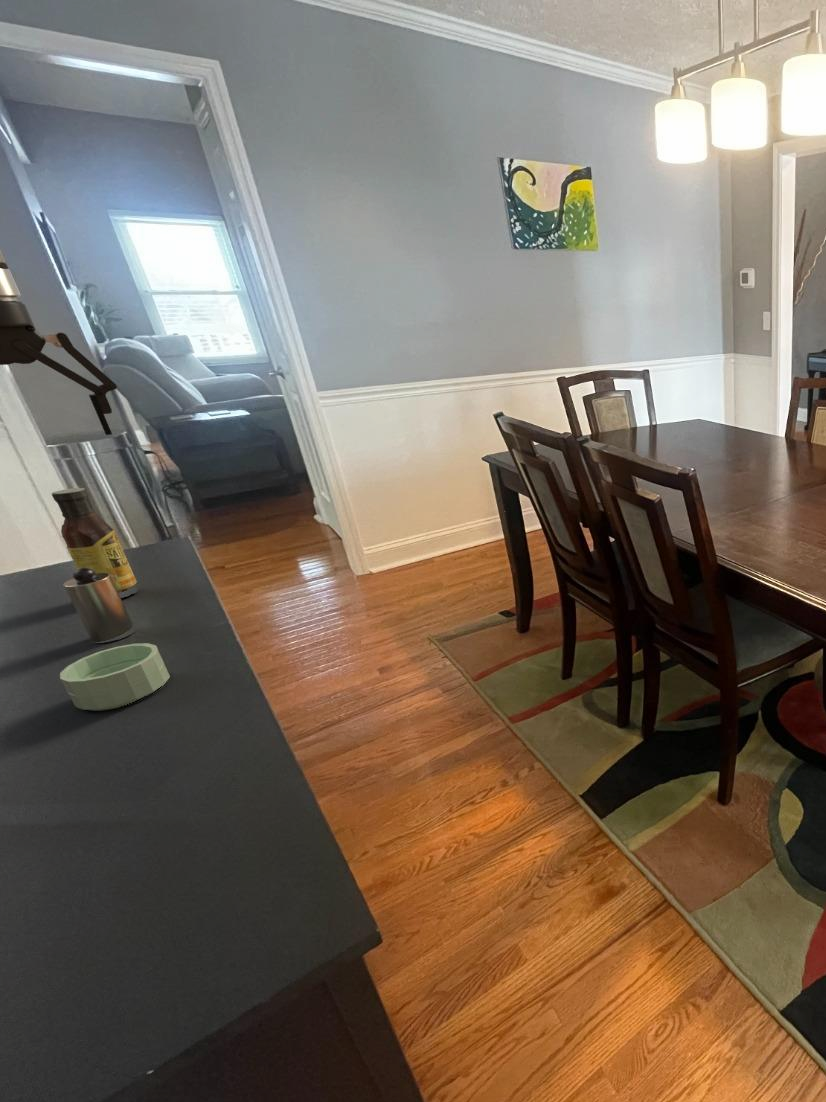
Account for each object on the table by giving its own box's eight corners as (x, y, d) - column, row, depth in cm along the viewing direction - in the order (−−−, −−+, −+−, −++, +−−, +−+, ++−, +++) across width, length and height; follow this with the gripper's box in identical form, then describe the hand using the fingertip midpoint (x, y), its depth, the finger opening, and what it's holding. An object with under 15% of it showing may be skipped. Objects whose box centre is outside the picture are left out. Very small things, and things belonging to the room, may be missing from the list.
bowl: (56, 714, 77) (37, 682, 75) (122, 674, 85) (107, 644, 83) (130, 712, 77) (113, 680, 75) (188, 672, 85) (175, 642, 83)
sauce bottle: (136, 598, 107) (88, 492, 100) (88, 607, 104) (34, 498, 96) (144, 585, 112) (98, 483, 105) (98, 593, 109) (47, 489, 101)
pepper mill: (82, 644, 93) (47, 575, 88) (112, 628, 97) (80, 562, 93) (116, 643, 93) (82, 575, 88) (144, 627, 97) (114, 561, 93)
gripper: (-161, 298, 79) (-74, 455, 88) (103, 300, 96) (155, 431, 105) (-150, 299, 84) (-68, 448, 92) (100, 300, 101) (150, 426, 109)
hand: (51, 440), depth 98 cm, fingers open, 13 cm apart
